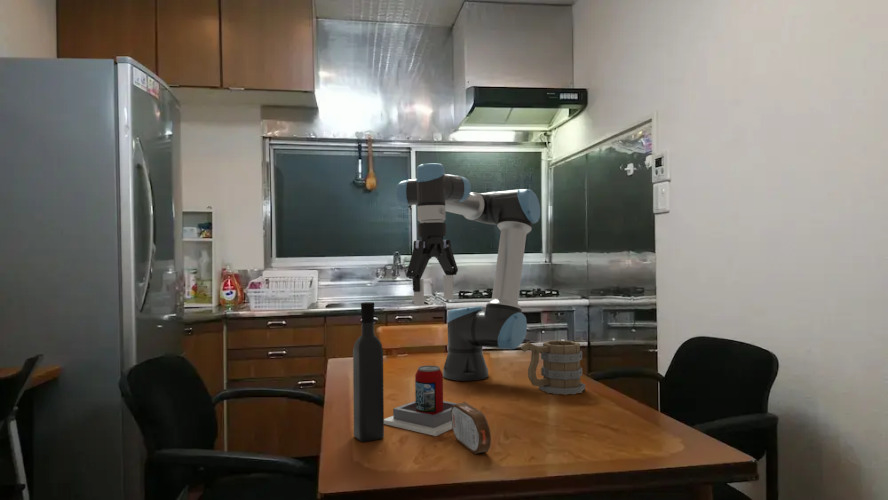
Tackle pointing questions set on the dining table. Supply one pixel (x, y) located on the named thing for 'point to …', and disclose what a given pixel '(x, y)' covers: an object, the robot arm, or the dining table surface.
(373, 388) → the wine bottle
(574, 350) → the tankard
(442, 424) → the tray
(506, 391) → the dining table surface
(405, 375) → the dining table surface
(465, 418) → the tin
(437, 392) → the beverage can
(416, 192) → the robot arm
